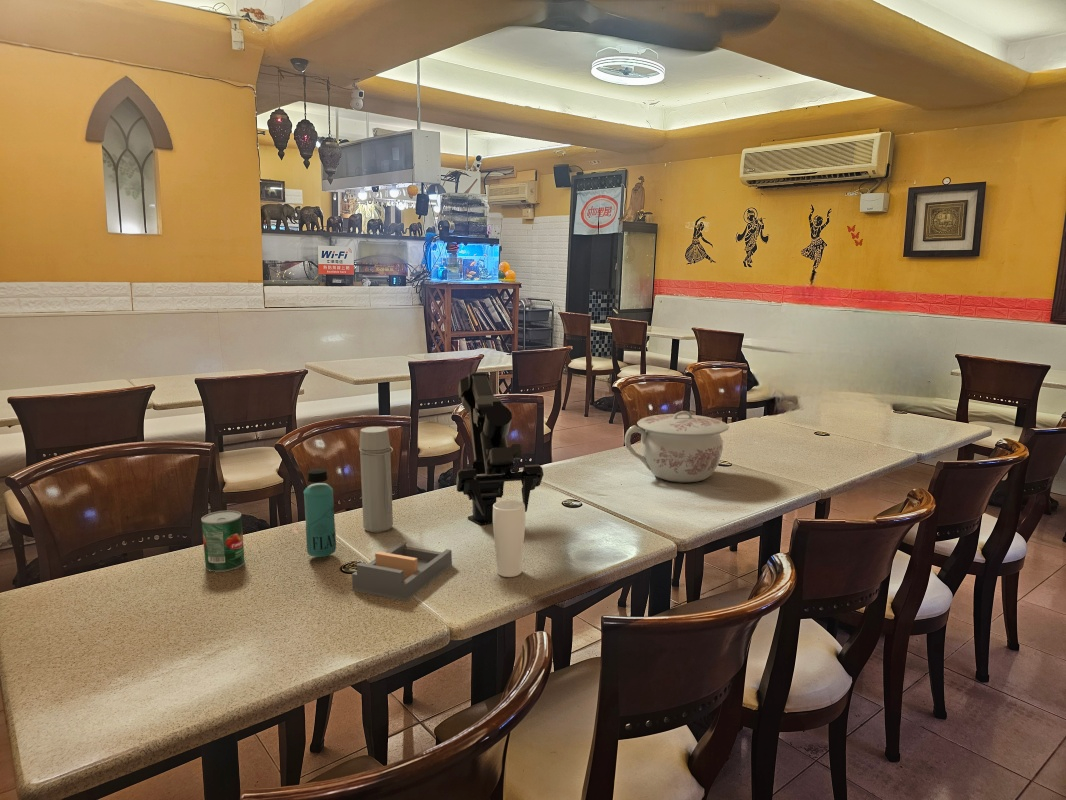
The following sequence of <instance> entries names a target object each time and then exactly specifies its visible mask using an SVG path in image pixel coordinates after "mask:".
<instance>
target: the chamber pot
mask: <svg viewBox="0 0 1066 800" xmlns="http://www.w3.org/2000/svg"><path fill="white" fill-rule="evenodd" d="M636 424H637V425H636ZM636 424H635V425H632V426H630V427H629V428H628V429H627V430H626V432H625V435H624V445H625V448H626V449H627V450H628V452H630V454H631V455H632V456H634V457H635V458H636V459H638V460H639V461H641V463H643V464H644V466H645V467H646V468H647V469H648V470H649V471H650V473H651V474H653V475H654V476H655V477H656V478H659V479H661V480H663V481H667V482H672V483H678V484H679V483H681V484H691V483H696V482H700V481H704V480H706V479H708V478H710V476H712V474H713V472H714V471H715V470H716V469H717V467H718V466H719V464H720V463H721V458H722V454H723V451H724V440H723V438H722V436H721V434H723V433H725V432H727V431H728V430H729V428H730V426H729V425H728V423H726V422H725V421H722V420H719V419H717V418H714V417H710V416H709V417H708V416H705V415H704V416H703V415H695V414H692V413H691V412H690V411H687V410H681V411H677V412H676V413H666V414H665V413H664V414H657V415H656V414H655V415H650V416H646V417H643V418H640V419H639V420H638V421H637V422H636ZM634 433H636V434H638V433H639V434H640V435H641V437H640V446H641V452H642V453H641V454H639V453H638V452H636V450H635V449H634V448H633V447H632V445H631V438H632V434H634Z"/></svg>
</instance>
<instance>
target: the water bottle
mask: <svg viewBox="0 0 1066 800" xmlns="http://www.w3.org/2000/svg"><path fill="white" fill-rule="evenodd" d="M389 433H390V432H389V429H388V427H385V426H368V427H363V428H361V429H360V430H359V446H358V447H359V448H358V450H359V452H360V453H359V458H360V478H361V481H360V482H361V496H362V497H361V499H362V504H361V506H362V523H363V524H362V525H363V528H364V529H365V531H367V532H369V531H370V533H382V532H381V531H383V532H386V531H388V530H390V529H392V527H393V525H394V517H393V515H394V514H393V490H392V489H393V488H392V465H391V464H392V463H391V457H392V456H391V454H392V452H393V451H394V448H393V447H392V446H391V441H390V434H389Z"/></svg>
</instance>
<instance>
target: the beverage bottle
mask: <svg viewBox="0 0 1066 800" xmlns="http://www.w3.org/2000/svg"><path fill="white" fill-rule="evenodd" d="M327 480H328V471H327V470H326V469H325V468H324V469H323V468H317V469H316V468H314V469H310V470H309V471H308V472H307V481H308V482H309V483H311V484H309V485H308V486H307V487H305V489H304V490H303V499H304V500H303V501H304V516H305V518H304V519H305V541H306V543H305V545H306V552H307V554H308V555H309V556H311V557H315V558H316V557H317V558H318V557H319V558H321V557H326V556H330V555H332V554H334V553H335V552H336V549H337V538H336V536H337V533H336V532H337V531H336V522H335V520H336V518H335V514H336V512H335V503H334V502H335V500H334V488H333V487H332V486H331V485H329V484H328V483H325V482H326V481H327Z"/></svg>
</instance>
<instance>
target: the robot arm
mask: <svg viewBox="0 0 1066 800" xmlns="http://www.w3.org/2000/svg"><path fill="white" fill-rule="evenodd" d="M492 382H493V381H492V378H491V377H490V376H489V372H485V371H482V372H481V371H478V372H477V371H476V372H471V373H468V375H467V376H465V377H464V378H461V379H460V380H459V383H458V389H457V391H458V398H460V399H461V405H462V407H463V408H464V409H465V411H466V412H467V413H468V415H469V417H468V418H469V425H470V432H471V442H472V443H471V444H472V453H473V463H472V465H471V468H461V469H459V470H458V471H457V472H456V473H457V474H456V480H455V482H456V484H455V486H456V492H458V493H462V494H463V495H465V496H466V497H467V498H468V500H469V501H471V502H472V515H468V516H467V519H468V520H470V521H472V522H474V523H476V524H478V525H480V526H484V525H487V524H491V523H492V524H493V504H494V503H496V502H497V499H500V498H501V499H502V498H503V496H504V487H505V483H506V482H518V481H521V485H522V487H521V496H522V497H521V499H522V502H523V503H524V504H525V513H527V511H528V506H529V501H530V500H529V499H530V494H531V491H534V490H535V489H536V487H540V486H541V483H542V480H543V477H544V470H543V467H542V466H541V465H540V464H527V465H526V464H525V465H523V467H522V471H512V470H514V465H515V464H514V462H515V460H521V459H522V457H523V451H522V445H521V443H512V445H510V446H508V439H507V436H508V434H509V431H510V427H511V423H512V418H513V414H512V413H513V412H512V411H511V410H510V409H509V408H508V407H507V406H505V405H504V404H505V403H504V402H503V401H502V399H501V398H499V397H495V394H494V392H493V383H492Z"/></svg>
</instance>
